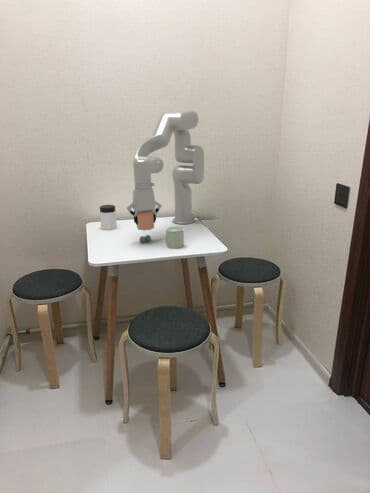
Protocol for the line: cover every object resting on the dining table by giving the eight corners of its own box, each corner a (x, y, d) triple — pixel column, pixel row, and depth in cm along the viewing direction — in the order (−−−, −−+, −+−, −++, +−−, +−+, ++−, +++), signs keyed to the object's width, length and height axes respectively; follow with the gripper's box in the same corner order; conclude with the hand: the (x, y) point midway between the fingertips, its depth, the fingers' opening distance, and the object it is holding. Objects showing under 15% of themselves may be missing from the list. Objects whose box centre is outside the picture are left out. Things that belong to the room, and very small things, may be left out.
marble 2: (150, 240, 192) (150, 234, 192) (151, 241, 189) (151, 234, 189) (144, 241, 191) (144, 235, 191) (145, 241, 188) (145, 235, 188)
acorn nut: (180, 242, 188) (180, 226, 185) (185, 247, 181) (184, 230, 178) (165, 244, 186) (164, 227, 183) (169, 249, 179) (168, 232, 176)
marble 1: (145, 242, 190) (144, 236, 190) (146, 242, 187) (145, 236, 187) (139, 242, 189) (138, 236, 189) (140, 242, 186) (139, 236, 186)
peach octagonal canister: (151, 224, 192) (150, 209, 189) (155, 229, 185) (154, 212, 182) (136, 226, 190) (135, 210, 187) (139, 231, 183) (138, 214, 180)
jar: (111, 224, 219) (109, 203, 216) (120, 227, 214) (118, 206, 210) (97, 228, 213) (95, 206, 209) (106, 231, 208) (105, 208, 204)
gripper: (159, 183, 186) (161, 219, 192) (123, 186, 182) (125, 222, 188) (163, 186, 180) (164, 223, 186) (125, 189, 175) (128, 227, 181)
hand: (145, 222), depth 187 cm, fingers closed on peach octagonal canister, 7 cm apart
